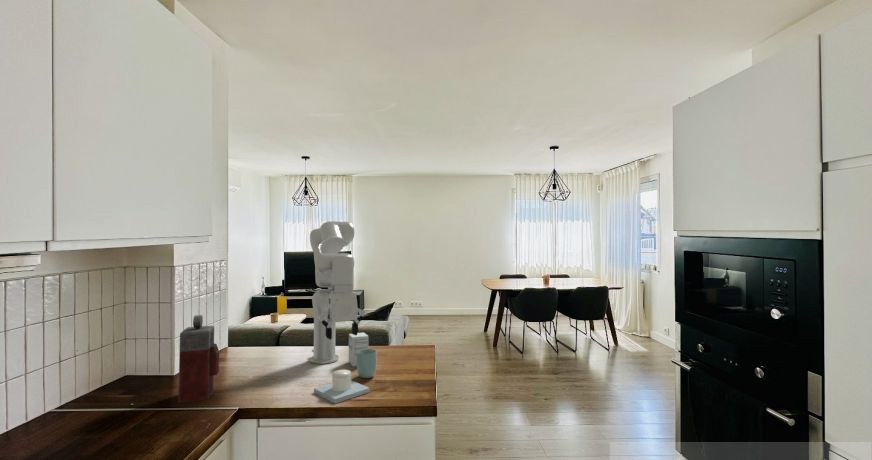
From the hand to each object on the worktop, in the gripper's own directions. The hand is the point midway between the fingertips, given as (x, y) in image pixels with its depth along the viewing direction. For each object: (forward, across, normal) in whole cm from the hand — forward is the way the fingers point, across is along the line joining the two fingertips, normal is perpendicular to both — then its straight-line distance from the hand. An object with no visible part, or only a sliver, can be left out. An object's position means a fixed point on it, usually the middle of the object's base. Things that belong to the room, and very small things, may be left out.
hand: (342, 336), depth 141 cm
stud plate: (+20, 0, 0) cm, 20 cm away
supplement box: (+20, +19, +27) cm, 39 cm away
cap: (+18, 0, 0) cm, 18 cm away
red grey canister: (+20, -41, +26) cm, 53 cm away
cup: (+20, +14, +9) cm, 26 cm away
